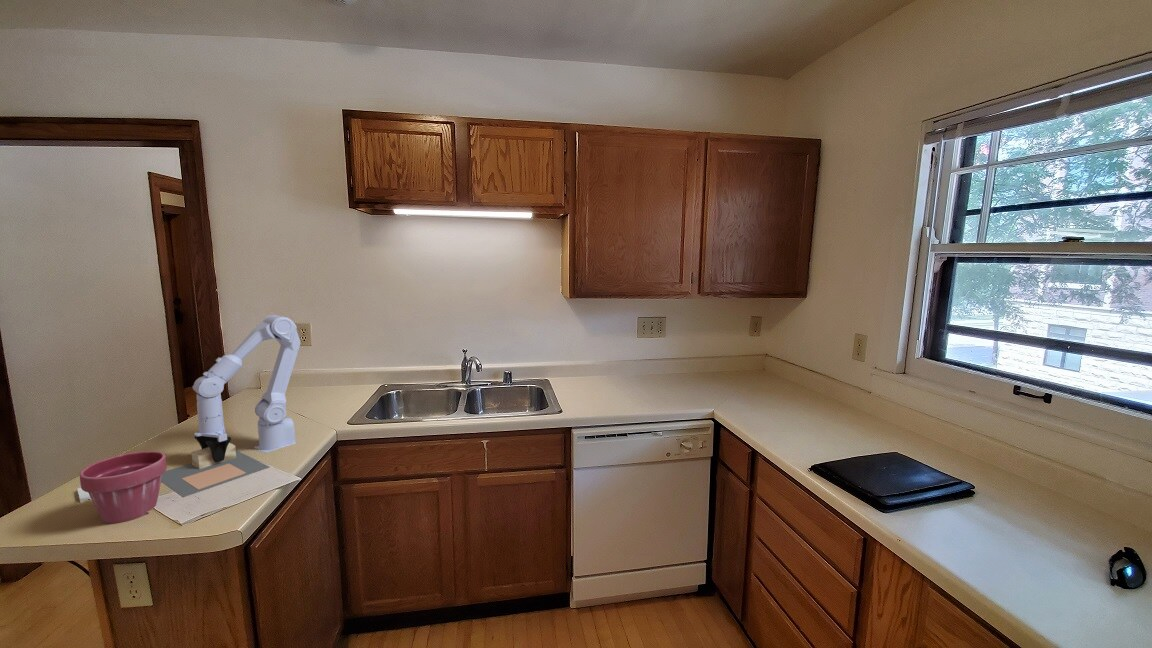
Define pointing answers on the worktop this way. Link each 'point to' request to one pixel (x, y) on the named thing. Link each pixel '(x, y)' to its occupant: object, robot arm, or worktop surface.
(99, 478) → the plant pot
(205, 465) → the card box
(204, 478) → the mat
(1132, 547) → the worktop surface
